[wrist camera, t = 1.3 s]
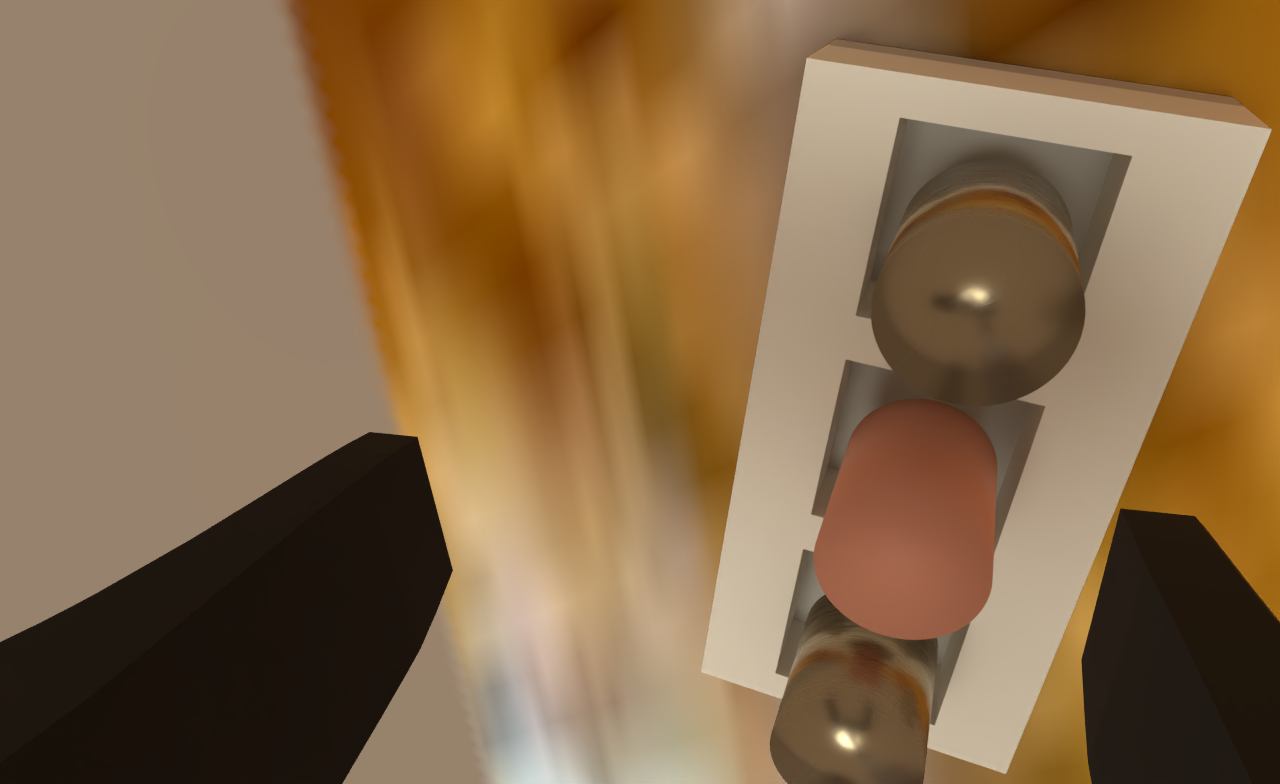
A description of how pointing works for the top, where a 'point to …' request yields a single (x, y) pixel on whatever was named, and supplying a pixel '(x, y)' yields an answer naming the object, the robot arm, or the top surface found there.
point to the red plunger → (911, 522)
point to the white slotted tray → (1019, 430)
